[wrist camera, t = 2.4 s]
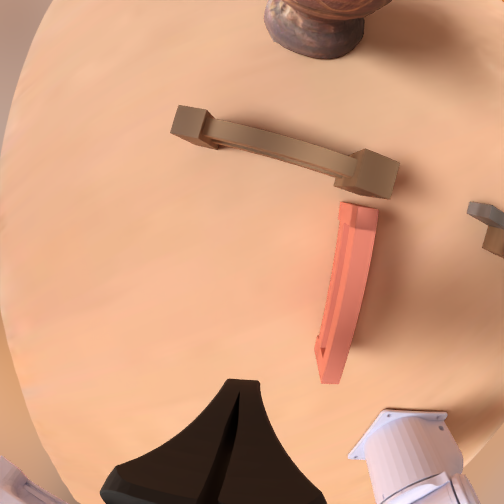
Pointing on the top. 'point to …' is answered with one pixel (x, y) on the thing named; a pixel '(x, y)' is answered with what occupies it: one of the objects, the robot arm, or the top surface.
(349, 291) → the gate
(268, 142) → the fence
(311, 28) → the mortar and pestle
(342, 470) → the top surface
